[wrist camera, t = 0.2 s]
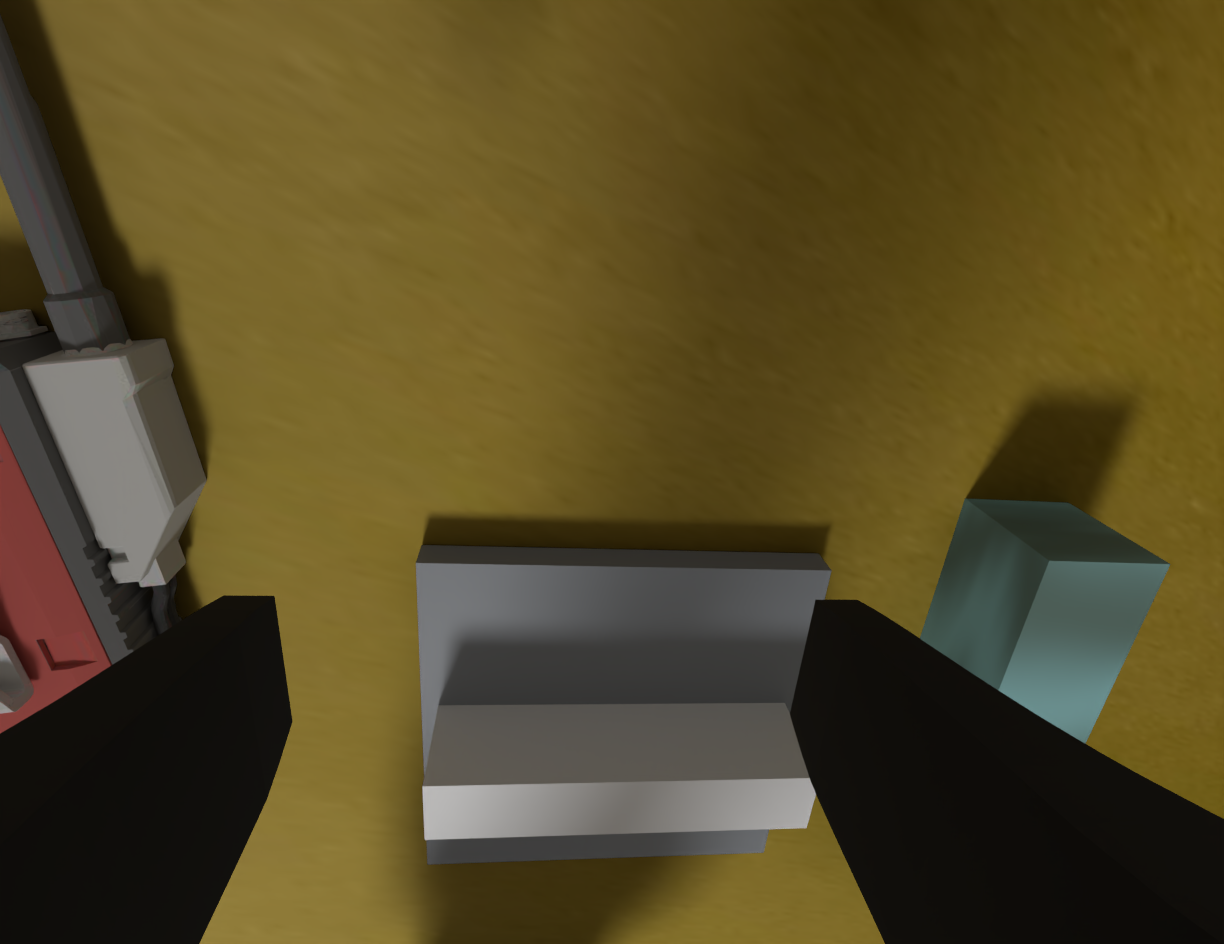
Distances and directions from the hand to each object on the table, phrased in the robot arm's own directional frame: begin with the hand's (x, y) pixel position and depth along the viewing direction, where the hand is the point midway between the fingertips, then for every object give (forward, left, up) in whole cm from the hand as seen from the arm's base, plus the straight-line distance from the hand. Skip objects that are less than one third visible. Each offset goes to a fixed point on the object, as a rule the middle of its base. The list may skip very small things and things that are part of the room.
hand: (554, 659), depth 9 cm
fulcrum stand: (-10, -3, -10) cm, 14 cm away
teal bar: (-10, -15, -10) cm, 20 cm away
